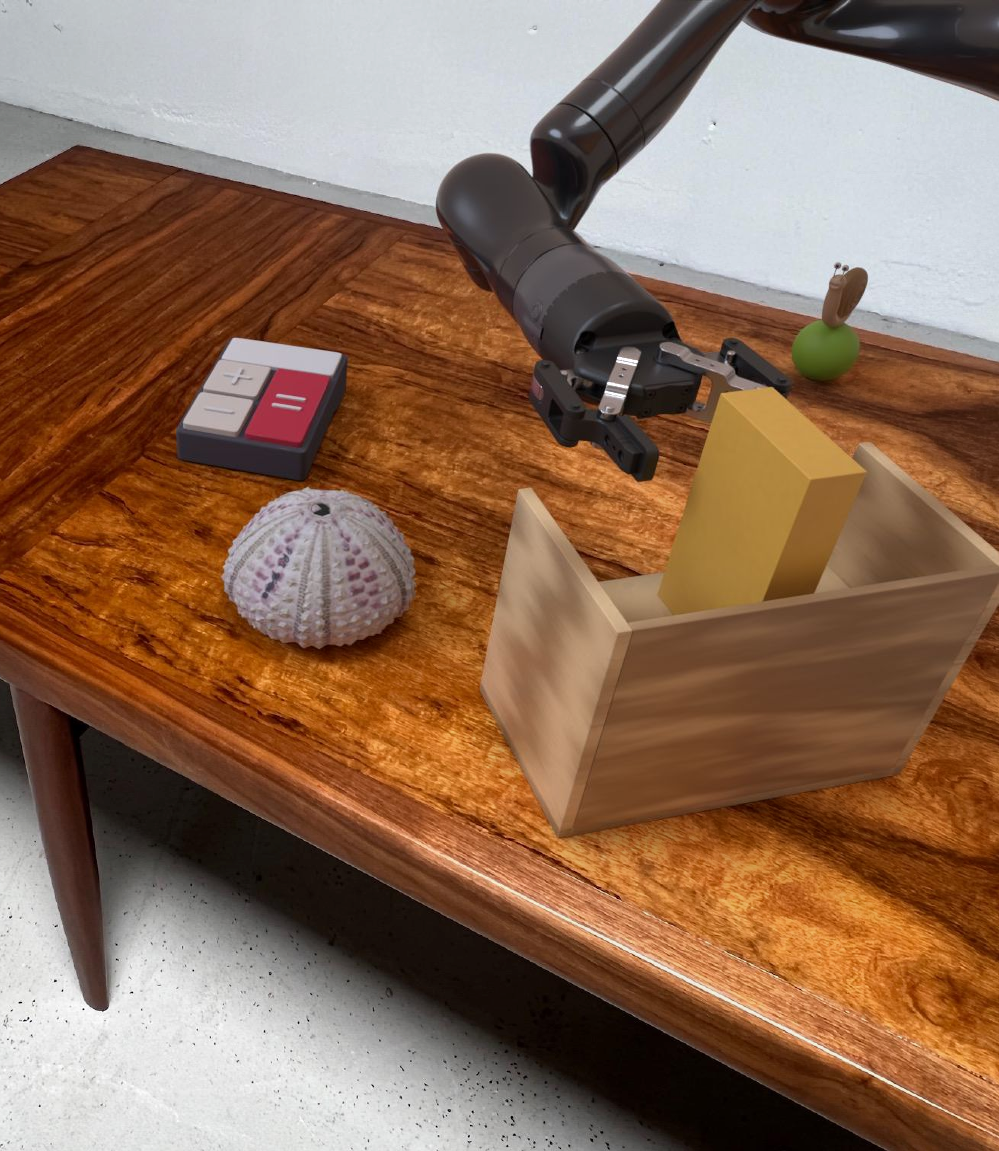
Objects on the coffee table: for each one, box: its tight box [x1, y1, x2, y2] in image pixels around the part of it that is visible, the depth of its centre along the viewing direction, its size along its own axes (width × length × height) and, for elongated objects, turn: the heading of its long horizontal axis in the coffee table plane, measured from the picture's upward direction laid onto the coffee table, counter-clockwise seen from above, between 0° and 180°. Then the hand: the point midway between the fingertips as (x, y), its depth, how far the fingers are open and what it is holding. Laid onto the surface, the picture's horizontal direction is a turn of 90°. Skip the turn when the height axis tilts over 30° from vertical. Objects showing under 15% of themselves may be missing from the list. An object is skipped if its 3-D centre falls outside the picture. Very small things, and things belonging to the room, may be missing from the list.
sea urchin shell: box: [220, 486, 417, 650], centre depth 77 cm, size 13×14×8 cm
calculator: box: [175, 337, 349, 481], centre depth 96 cm, size 11×4×15 cm
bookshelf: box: [479, 441, 999, 839], centre depth 65 cm, size 12×22×16 cm, turn 102°
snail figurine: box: [790, 261, 869, 382], centre depth 99 cm, size 5×6×12 cm
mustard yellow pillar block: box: [658, 387, 867, 616], centre depth 61 cm, size 3×8×14 cm, turn 12°
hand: (721, 458), depth 62 cm, fingers open, 8 cm apart
